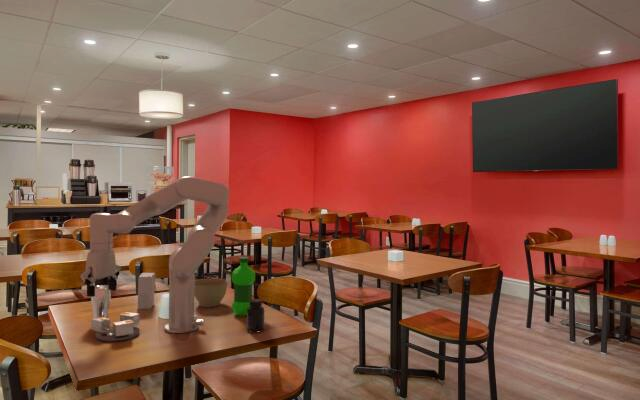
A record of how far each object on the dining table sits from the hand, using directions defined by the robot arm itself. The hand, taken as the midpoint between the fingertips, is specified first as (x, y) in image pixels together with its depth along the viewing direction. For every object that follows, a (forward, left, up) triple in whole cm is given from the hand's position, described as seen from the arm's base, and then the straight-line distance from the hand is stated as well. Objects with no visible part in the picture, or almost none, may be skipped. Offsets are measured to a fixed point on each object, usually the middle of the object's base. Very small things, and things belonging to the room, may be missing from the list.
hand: (101, 293), depth 168 cm
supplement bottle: (-54, -14, -16) cm, 59 cm away
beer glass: (+8, -12, -16) cm, 22 cm away
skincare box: (+2, -39, -16) cm, 43 cm away
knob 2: (-10, +3, -14) cm, 18 cm away
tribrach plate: (-5, -1, -16) cm, 17 cm away
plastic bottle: (-44, -34, -16) cm, 58 cm away
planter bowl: (-25, -47, -16) cm, 56 cm away
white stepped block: (-7, -7, -14) cm, 18 cm away
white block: (0, 0, -14) cm, 14 cm away
